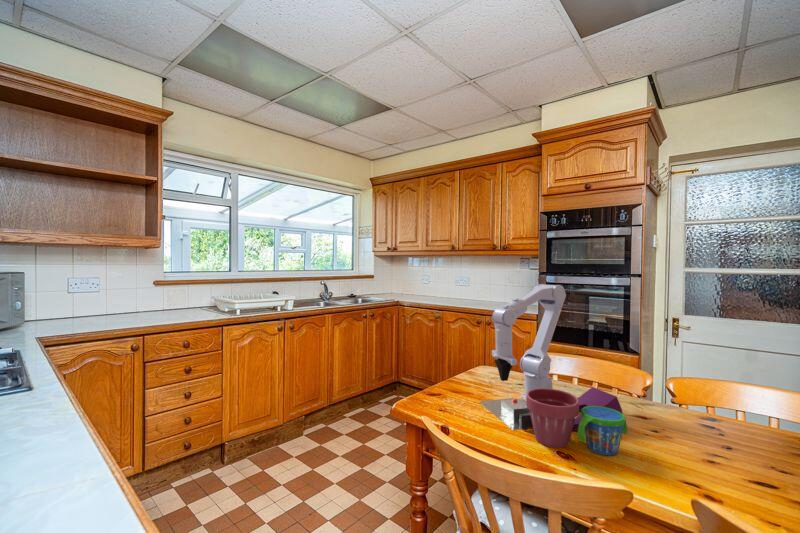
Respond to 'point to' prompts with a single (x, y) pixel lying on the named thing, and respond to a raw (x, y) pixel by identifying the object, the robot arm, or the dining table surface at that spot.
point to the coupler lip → (495, 408)
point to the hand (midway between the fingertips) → (504, 380)
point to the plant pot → (552, 415)
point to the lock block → (513, 408)
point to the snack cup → (602, 429)
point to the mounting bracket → (596, 402)
